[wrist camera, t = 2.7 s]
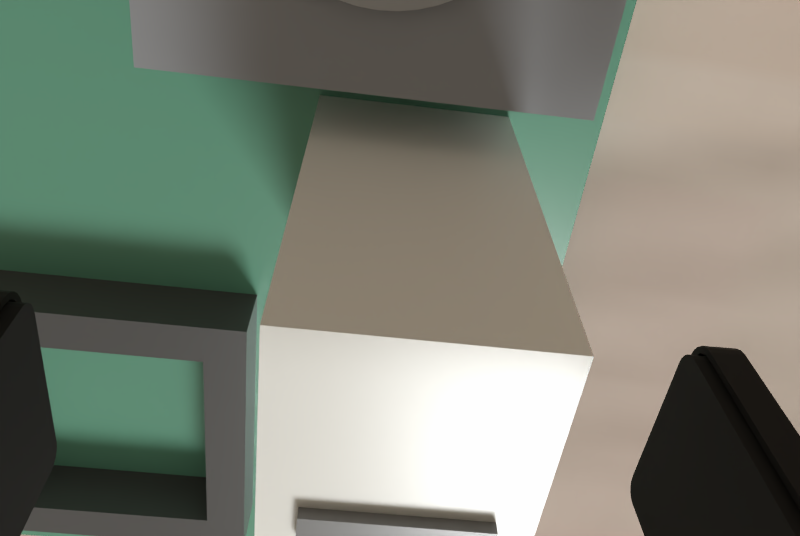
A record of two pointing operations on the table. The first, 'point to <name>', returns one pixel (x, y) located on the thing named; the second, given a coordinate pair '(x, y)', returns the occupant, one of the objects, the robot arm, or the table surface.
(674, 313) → the table surface
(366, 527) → the plug
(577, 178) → the board
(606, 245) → the table surface
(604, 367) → the table surface
